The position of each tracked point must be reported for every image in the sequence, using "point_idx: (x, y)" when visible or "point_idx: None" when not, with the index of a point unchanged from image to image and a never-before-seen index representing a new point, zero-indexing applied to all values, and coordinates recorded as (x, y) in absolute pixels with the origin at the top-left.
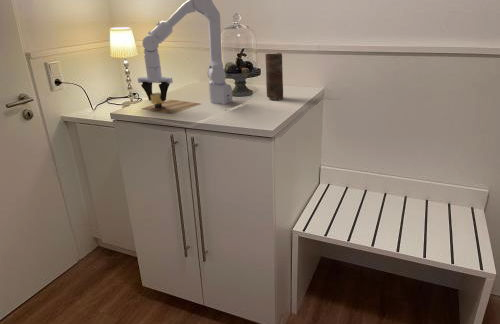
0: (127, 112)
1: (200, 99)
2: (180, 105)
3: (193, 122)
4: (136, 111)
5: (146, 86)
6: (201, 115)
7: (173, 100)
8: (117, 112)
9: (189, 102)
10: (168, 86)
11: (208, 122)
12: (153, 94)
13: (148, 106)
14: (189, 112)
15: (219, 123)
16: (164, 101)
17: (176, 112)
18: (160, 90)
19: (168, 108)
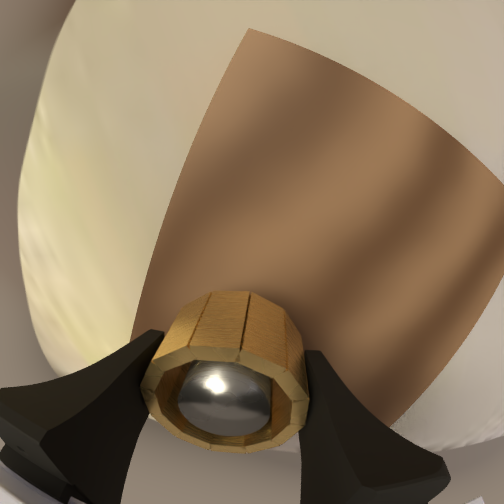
0: (81, 358)
1: (464, 15)
2: (420, 267)
3: (445, 448)
4: (111, 347)
5: (119, 502)
6: (490, 384)
7: (297, 64)
8: (43, 349)
9: (468, 163)
10: (410, 450)
11: (482, 433)
12: (191, 419)
13: (143, 301)
14: (458, 357)
15: (501, 428)
16: (301, 342)
17: (399, 416)
18: (302, 490)
19: (340, 357)
